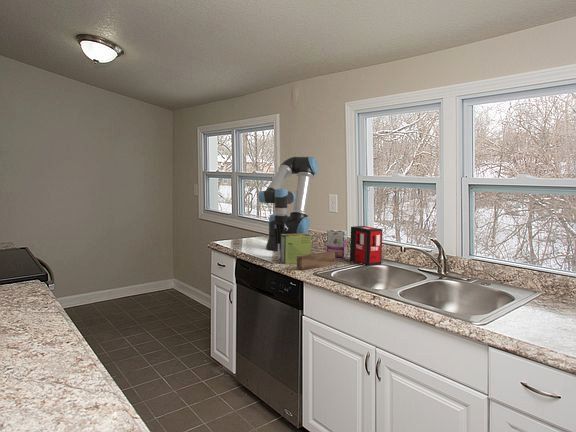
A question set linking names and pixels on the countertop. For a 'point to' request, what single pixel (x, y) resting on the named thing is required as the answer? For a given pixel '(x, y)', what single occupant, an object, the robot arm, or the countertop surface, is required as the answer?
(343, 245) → the candy bar box
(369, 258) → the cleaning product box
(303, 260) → the walnut block
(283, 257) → the protein box
